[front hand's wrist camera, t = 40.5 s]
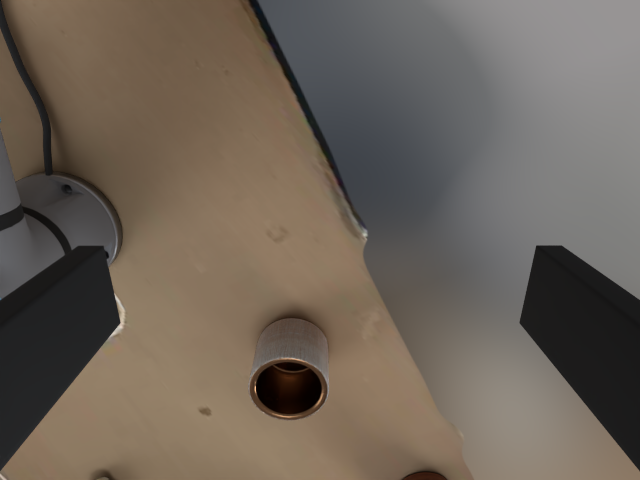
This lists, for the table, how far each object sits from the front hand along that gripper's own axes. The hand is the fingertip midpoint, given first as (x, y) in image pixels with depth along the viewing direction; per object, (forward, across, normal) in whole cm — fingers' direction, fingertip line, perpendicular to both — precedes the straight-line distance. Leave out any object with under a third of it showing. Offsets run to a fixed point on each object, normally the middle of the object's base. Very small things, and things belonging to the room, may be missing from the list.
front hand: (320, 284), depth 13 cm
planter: (+41, +4, +32) cm, 52 cm away
